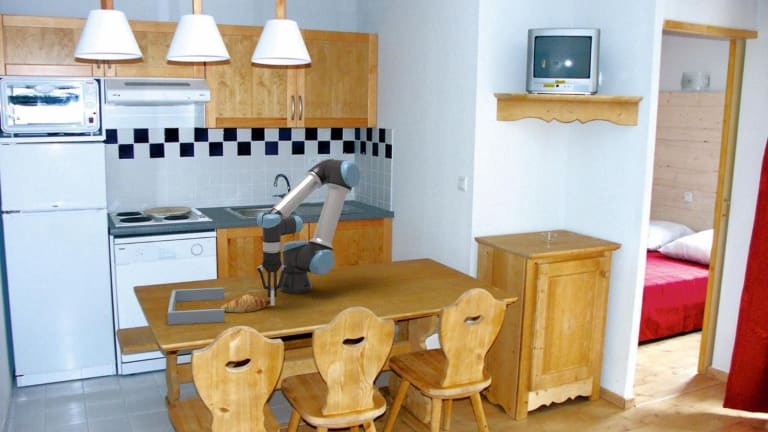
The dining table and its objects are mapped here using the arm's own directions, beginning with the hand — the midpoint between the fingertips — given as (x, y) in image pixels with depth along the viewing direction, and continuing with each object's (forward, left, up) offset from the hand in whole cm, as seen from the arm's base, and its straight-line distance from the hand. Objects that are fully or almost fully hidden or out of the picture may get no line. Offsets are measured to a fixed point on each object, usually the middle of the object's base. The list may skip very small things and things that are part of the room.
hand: (272, 304), depth 303 cm
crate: (+31, -1, -1) cm, 31 cm away
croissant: (+11, 0, -2) cm, 12 cm away
